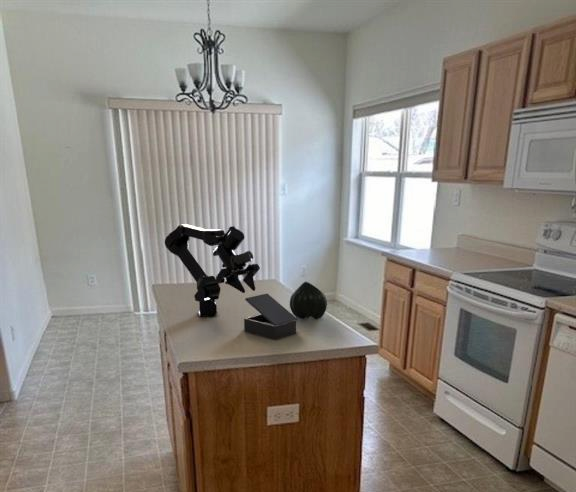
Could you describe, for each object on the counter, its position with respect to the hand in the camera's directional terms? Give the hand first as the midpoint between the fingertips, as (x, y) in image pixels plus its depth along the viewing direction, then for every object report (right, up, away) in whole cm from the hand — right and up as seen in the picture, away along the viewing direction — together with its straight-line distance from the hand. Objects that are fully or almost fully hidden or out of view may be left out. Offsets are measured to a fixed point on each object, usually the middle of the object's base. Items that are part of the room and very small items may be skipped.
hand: (249, 291), depth 199 cm
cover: (+8, -8, -5) cm, 12 cm away
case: (+8, -15, -1) cm, 17 cm away
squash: (+22, -8, +19) cm, 30 cm away
